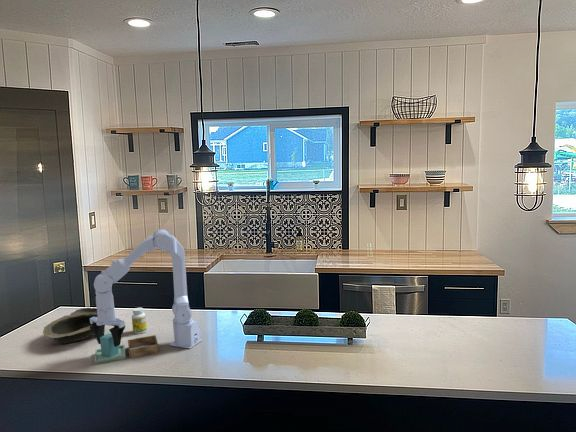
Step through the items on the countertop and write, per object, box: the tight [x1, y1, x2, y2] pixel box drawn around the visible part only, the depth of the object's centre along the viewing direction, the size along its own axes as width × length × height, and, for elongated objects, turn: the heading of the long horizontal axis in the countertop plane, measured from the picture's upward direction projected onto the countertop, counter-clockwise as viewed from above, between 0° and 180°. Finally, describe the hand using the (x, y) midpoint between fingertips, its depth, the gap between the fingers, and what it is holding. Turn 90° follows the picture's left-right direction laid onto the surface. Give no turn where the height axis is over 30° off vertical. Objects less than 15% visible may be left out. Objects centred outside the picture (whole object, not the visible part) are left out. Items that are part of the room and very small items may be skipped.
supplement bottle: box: [131, 307, 148, 335], centre depth 182 cm, size 5×5×10 cm
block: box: [99, 333, 119, 357], centre depth 160 cm, size 4×4×7 cm
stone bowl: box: [42, 307, 106, 345], centre depth 179 cm, size 25×25×9 cm
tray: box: [94, 344, 127, 366], centre depth 160 cm, size 10×10×2 cm
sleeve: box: [127, 334, 160, 359], centre depth 164 cm, size 10×10×3 cm
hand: (109, 344), depth 160 cm, fingers open, 7 cm apart
